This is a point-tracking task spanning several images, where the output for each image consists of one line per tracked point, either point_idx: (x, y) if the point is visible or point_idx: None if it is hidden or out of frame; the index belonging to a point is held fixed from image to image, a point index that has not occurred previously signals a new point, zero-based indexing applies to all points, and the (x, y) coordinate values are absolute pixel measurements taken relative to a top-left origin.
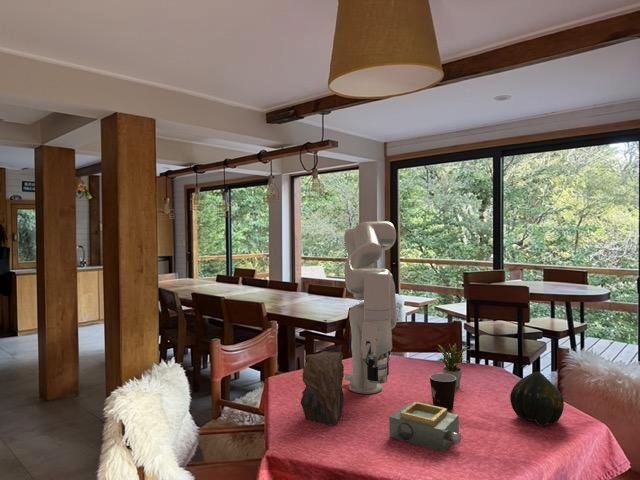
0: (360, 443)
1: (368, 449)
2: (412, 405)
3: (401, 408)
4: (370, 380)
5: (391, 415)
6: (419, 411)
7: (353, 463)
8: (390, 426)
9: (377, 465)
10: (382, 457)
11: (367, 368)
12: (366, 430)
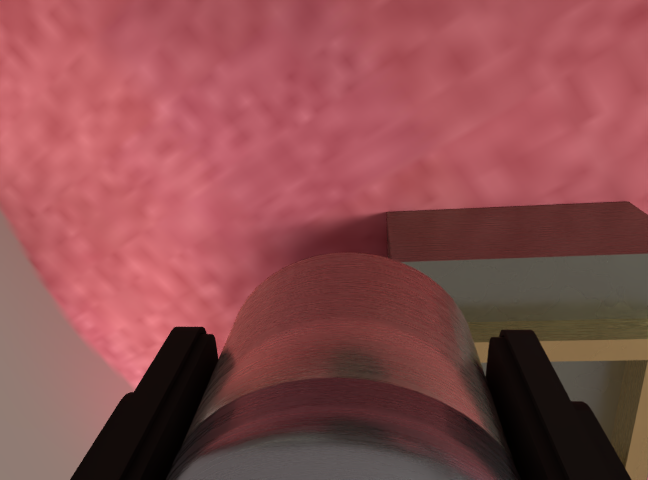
0: (227, 123)
1: (205, 194)
2: (589, 354)
3: (575, 262)
4: (232, 328)
5: (418, 265)
6: (580, 371)
7: (54, 210)
8: (389, 243)
9: (122, 297)
10: (190, 282)
11: (101, 451)
12: (389, 53)
